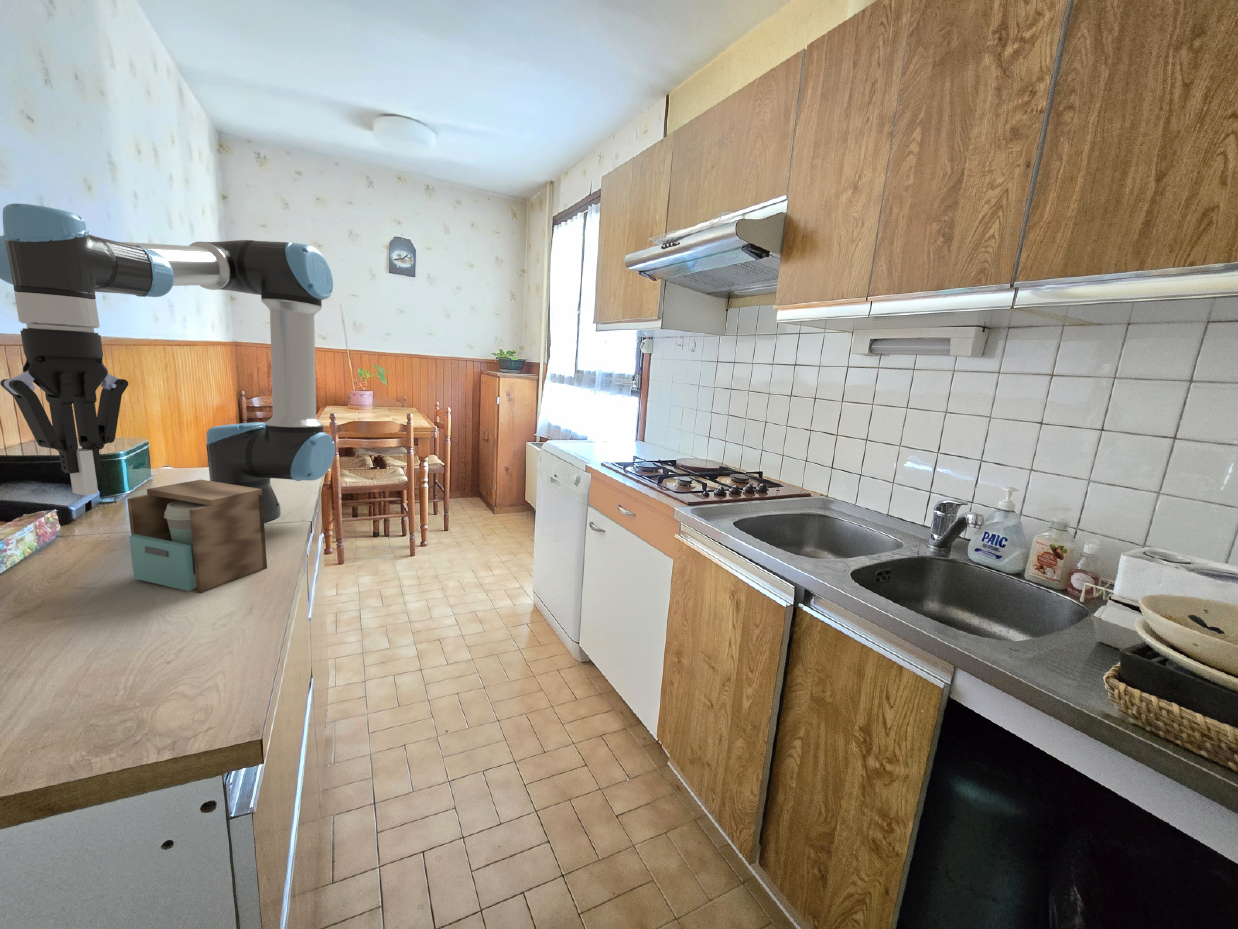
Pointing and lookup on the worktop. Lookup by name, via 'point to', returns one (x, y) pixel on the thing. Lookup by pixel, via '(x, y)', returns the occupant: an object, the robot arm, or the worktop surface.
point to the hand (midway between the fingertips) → (85, 493)
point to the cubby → (209, 527)
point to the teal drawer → (162, 562)
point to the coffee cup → (181, 522)
